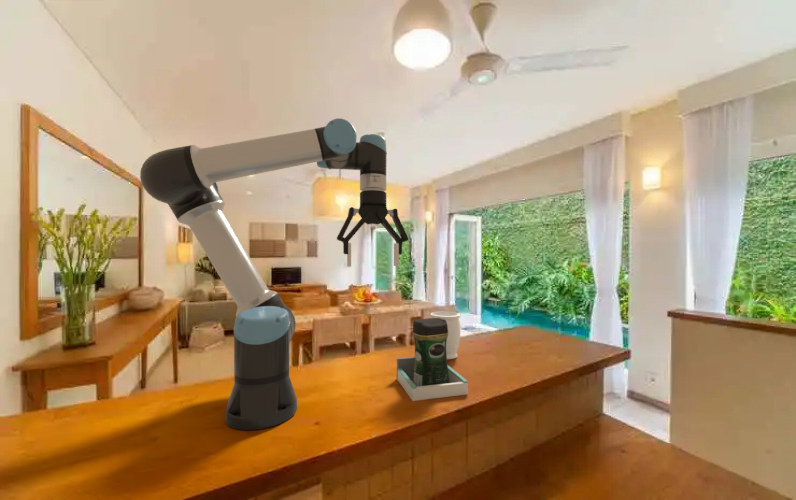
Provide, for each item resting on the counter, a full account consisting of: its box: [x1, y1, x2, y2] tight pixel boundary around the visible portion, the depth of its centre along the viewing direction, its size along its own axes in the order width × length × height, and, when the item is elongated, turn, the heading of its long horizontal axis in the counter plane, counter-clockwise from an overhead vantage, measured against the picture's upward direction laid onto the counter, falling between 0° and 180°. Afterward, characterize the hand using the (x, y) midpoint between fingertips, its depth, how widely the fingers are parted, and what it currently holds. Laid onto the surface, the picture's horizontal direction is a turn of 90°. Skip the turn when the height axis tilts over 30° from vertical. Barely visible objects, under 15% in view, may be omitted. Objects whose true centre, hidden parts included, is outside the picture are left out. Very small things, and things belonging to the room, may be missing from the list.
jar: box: [429, 311, 461, 360], centre depth 120 cm, size 11×10×15 cm
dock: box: [396, 356, 469, 402], centre depth 93 cm, size 15×15×6 cm
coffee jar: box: [411, 317, 450, 387], centre depth 93 cm, size 10×8×19 cm
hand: (373, 266), depth 96 cm, fingers open, 13 cm apart
